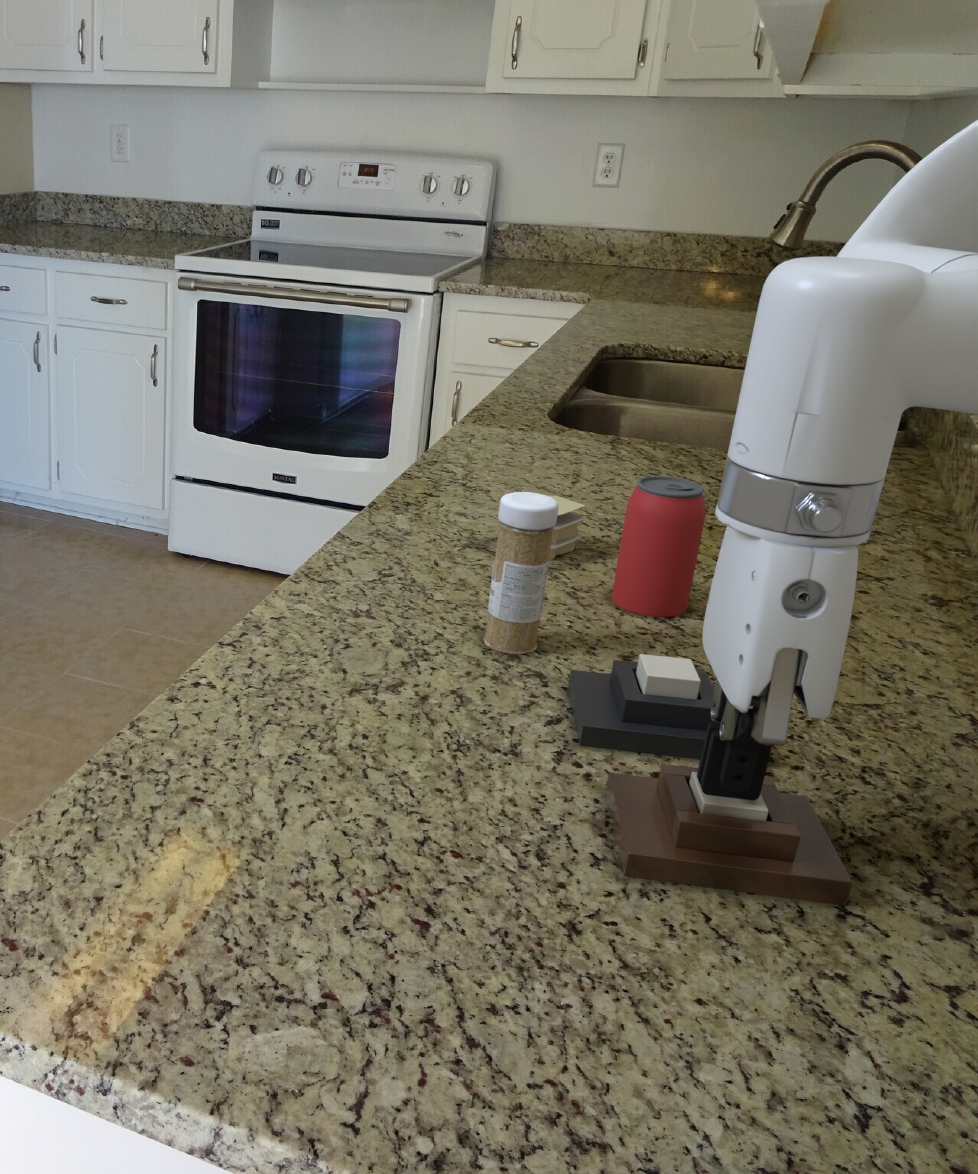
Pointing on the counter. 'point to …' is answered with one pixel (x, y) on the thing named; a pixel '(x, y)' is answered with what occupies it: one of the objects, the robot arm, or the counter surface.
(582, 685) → the grey stepped base
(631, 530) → the beer can
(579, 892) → the counter surface
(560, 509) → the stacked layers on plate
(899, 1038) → the counter surface
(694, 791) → the key
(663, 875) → the brown stepped base
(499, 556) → the tan spice bottle
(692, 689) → the key
